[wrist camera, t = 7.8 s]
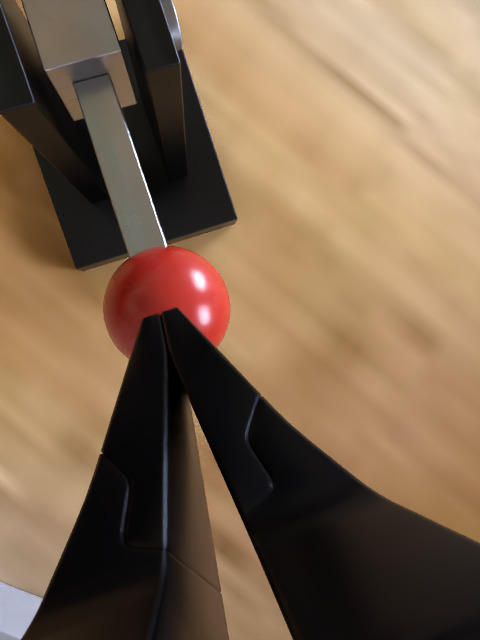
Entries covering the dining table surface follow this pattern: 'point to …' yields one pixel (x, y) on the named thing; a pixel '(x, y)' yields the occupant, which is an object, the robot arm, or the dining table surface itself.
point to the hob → (16, 611)
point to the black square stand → (144, 126)
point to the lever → (122, 174)
